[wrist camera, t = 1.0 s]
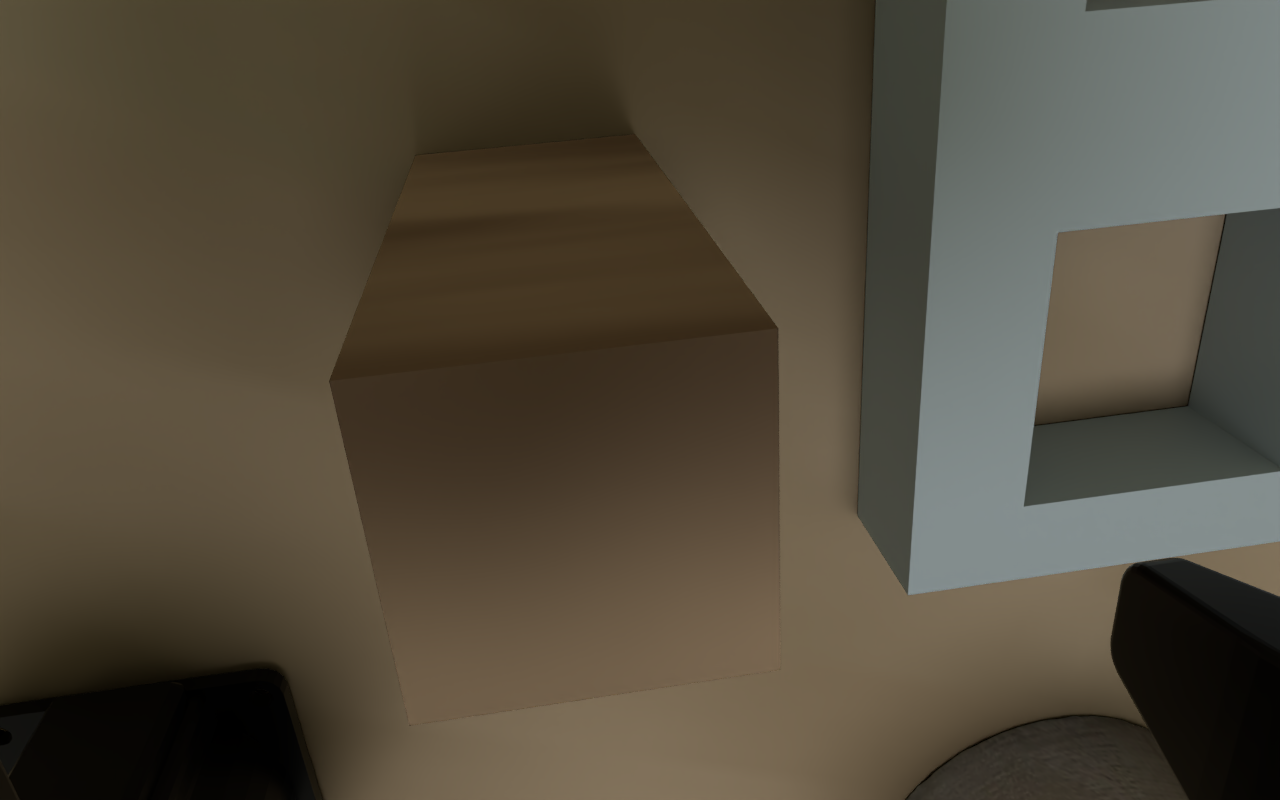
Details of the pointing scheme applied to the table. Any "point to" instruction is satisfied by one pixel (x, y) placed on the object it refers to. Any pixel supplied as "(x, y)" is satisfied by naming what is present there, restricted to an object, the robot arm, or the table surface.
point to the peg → (561, 434)
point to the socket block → (1022, 275)
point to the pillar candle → (1058, 765)
